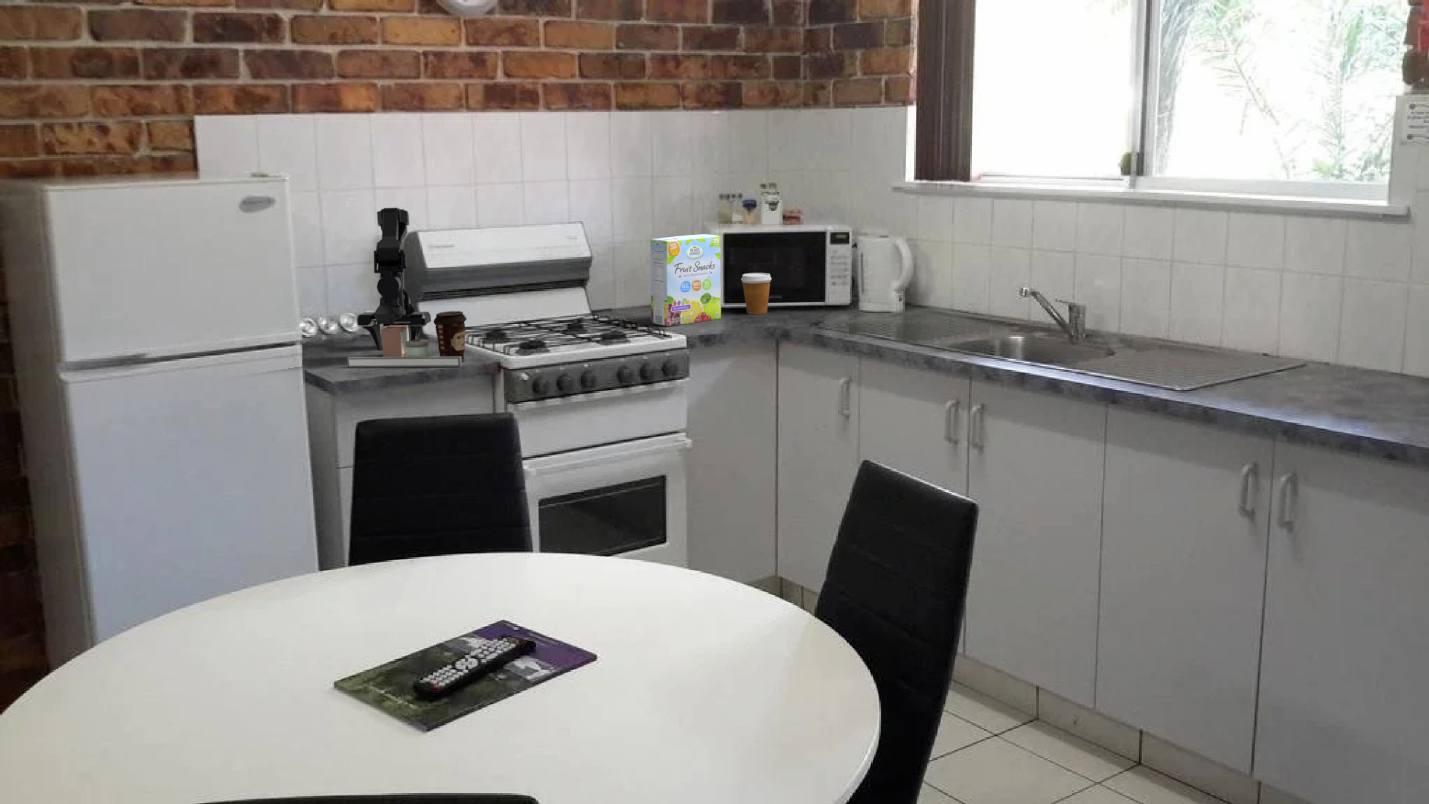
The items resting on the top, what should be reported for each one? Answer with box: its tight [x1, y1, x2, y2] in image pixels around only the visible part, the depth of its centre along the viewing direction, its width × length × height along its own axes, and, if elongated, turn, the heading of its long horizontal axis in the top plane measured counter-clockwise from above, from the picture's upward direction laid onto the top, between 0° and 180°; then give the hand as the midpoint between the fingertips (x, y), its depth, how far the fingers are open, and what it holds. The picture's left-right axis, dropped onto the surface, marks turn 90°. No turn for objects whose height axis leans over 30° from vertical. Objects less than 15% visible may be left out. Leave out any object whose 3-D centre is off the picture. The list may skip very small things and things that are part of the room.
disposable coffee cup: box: [740, 272, 772, 315], centre depth 422 cm, size 10×10×12 cm
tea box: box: [380, 325, 409, 357], centre depth 363 cm, size 5×7×8 cm
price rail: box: [346, 356, 463, 368], centre depth 349 cm, size 2×30×2 cm, turn 84°
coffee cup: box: [433, 310, 468, 363], centre depth 353 cm, size 9×8×13 cm
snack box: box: [650, 233, 722, 327], centre depth 407 cm, size 22×9×26 cm, turn 131°
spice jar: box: [406, 339, 430, 357], centre depth 352 cm, size 6×6×6 cm
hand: (396, 350), depth 364 cm, fingers open, 9 cm apart
